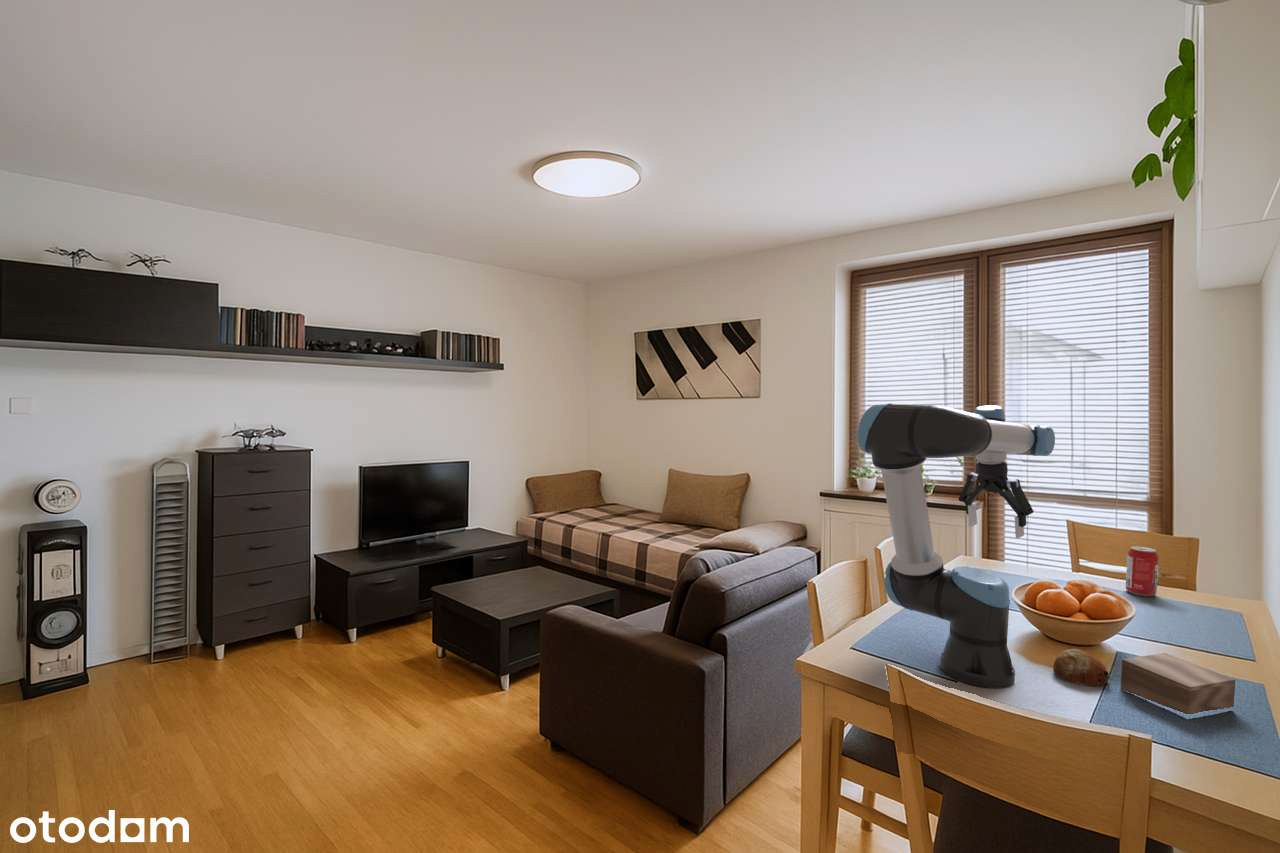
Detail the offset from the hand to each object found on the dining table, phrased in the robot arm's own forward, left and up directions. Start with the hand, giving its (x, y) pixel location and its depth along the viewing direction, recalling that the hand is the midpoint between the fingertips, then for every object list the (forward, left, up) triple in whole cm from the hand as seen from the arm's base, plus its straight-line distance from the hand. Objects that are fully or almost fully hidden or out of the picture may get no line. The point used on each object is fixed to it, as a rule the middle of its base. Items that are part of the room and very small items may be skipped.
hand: (995, 530), depth 174 cm
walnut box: (0, -49, -26) cm, 55 cm away
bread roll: (-10, -36, -26) cm, 45 cm away
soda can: (+66, +6, -26) cm, 71 cm away
